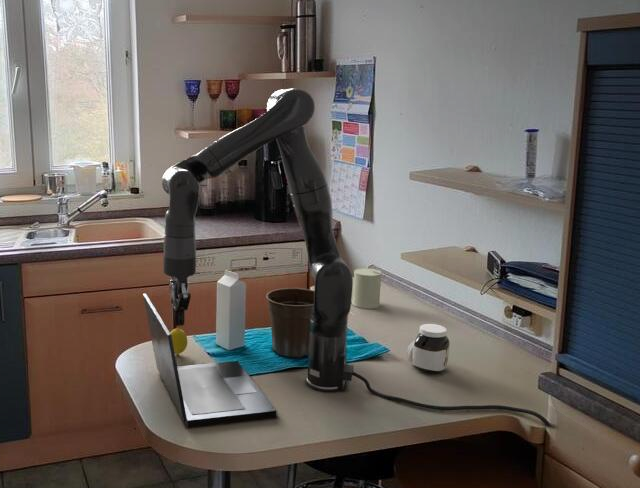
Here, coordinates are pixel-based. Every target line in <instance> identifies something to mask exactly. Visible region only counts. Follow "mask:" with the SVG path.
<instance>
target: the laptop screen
mask: <svg viewBox="0 0 640 488" xmlns="http://www.w3.org/2000/svg"><path fill="white" fill-rule="evenodd" d="M142 297H143V302H144V307H145V313H146V318H147V324H148V329H149V333H150V339H151V343H152V349H153V353H154V354H153V355H154V359H155V364H156V369H157V371H158V374H159V375H160V377H161V379H162V381H163V383H164V385H165V387H166V389H167V391H168V393H169V395H170V397H171V399H172V401H173V403H174V405H175V407H176V409H177V411H178V413H179V415H180V417H181V420H182V421H183V422H184V421H187V417H186V412H185V407H184V401H183V396H182V390H181V385H180V379H179V374H178V369H177V366H178V363H177V359H176V354H175V352H174V347H173V341H172V336H171V333H170V332H171V331H170V330H169V329H168V327H167V325H166V324H165V322H164V320H163V319H162V316H160V314H159V312H158V310H157V309H156V308H155V306H154V304H153V303H152V301H151V300H150V298H149V296H148V294H147V293H146V292H145V293H143V294H142Z"/></svg>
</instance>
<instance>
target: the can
mask: <svg viewBox="0 0 640 488" xmlns="http://www.w3.org/2000/svg"><path fill="white" fill-rule="evenodd" d="M382 274H383V272H382V271H381V270H379V269H375V268H369V267H368V268H366V267H363V268H362V267H361V268H356V269H354V270H353V288H352V300H351V305H353V307H356V308H359V309H365V310H369V309H370V310H371V309H377V308H379V307H380V306H381V304H380V301H381V287H382Z"/></svg>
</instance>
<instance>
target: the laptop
mask: <svg viewBox="0 0 640 488" xmlns="http://www.w3.org/2000/svg"><path fill="white" fill-rule="evenodd" d="M177 369H178V374H179V379H180V385H181V390H182V396H183V401H184V407H185V412H186V417H187V421H183V422H184V424H185V426H186V427H187V429H191V428H200V427H206V426H207V427H208V426H216V425H217V426H218V425H226V424H234V423H243V422H252V421H261V420H268V419H277V412H278V411H277V408H275V407H274V405H273V404H272V403H271V401H269V399H268V398H267V396H266V395H265V394H264V393H263V391H262V390H261V389H260V387H258V385H257V383H256V382H255V381H254V380H253V379H252V378H251V376H250V375H249V373H247V371H246V370H245V369H244V367H243V366H242V365H241V363H240V362H239V361H238V360H232V361H221V362H211V363H209V362H208V363H199V364H190V365H179V366H178V365H177Z"/></svg>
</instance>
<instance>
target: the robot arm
mask: <svg viewBox="0 0 640 488" xmlns="http://www.w3.org/2000/svg"><path fill="white" fill-rule="evenodd" d="M315 109H316V105H315V101H314V98H313V97H312V95H311V94H310V93H309V92H308V91H306V90H304V89H301V88H296V87H295V88H293V87H292V88H283V89H282V88H281V89H278V90H276V91H274V92H273V93H272V94H271V95H270V96H269V98H268V99H267V102H266V112H264V113H263V114H261V115H259V117H257V118H255V119H254V120H252V121H250V122H249V123H246V124H245V125H243V126H241V127H238V128H236V129H234V130H233V131H230V132H228V133H227V134H224V135H223V136H221V137H219V138H218V139H217V140H215V141H213V142H212V143H210V144H209V145H207V146H206V147H205V148H203V149H201V150H200V151H199V152H198V153H195V154H193V155H190V156H189V157H187V158H185V159H183V160H181V161H179V162H177V163H175V164H174V165H172V166H171V167H169V168H168V169H166V171H165V172H164V174H163V176H162V179H161V186H162V188H163V191H164V192H165V193H166V194H167V195H169V203H168V205H169V206H168V210H167V211H166V212H165V215H164V239H163V273H164V275H166V276H168V277H171V279H170V280H168V287H169V295H170V302H171V304H172V309H173V324H174V325H175V326H176V327H181V326H182V327H183V326H185V313H186V312H185V311H188V309H189V306H190V301H191V297H192V294H191V293H190V292H189V291H190V281H188V278H189V277H192V276H194V275H195V274H196V273H197V272H196V271H197V241H196V214H197V211H198V205H199V199H200V193H201V191H200V189H201V187H200V184H201V183H203V182H204V181H206V180H211V179H216V178H218V177H219V176H221V175H222V174H224V173H225V172H227V171H228V170H230V169H232V168H233V167H234V166H236V165H238V163H240V162H241V161H243V160H245V159H246V158H247V157H249V156H250V155H252V154H253V153H255V152H256V151H258V150H259V149H261V148H263V147H264V146H266V145H268V144H269V143H270V142H273V141H276V143H277V146H278V149H279V152H280V157H281V161H282V165H283V170H284V175H285V179H286V181H287V186H288V191H289V195H290V199H291V203H292V206H293V209H294V213H295V216H296V219H297V222H298V226H299V228H300V230H301V231H300V232H301V233H302V236H303V239H304V243H305V247H306V254H307V260H308V261H307V262H308V268H309V276H310V280H311V281H312V283H313V285H314V287H313V288H314V289H313V291H314V304H313V307H312V308H311V313H310V334H309V356H307V357H308V358H307V359H308V360H307V377H306V384H307V385H308V386H309V387H310V388H312V389H314V390H317V391H322V392H335V391H336V392H337V391H343V390H344V387H345V383H346V382H352V379H353V377H355V378H357V379H359V380H361V381H362V382H363V383H364V384H365V387H366V389H367V390H368V391H369V392H370V393H371V394H372V395H375V396H378V397H380V398H383V399H386V400H389V401H394V402H395V401H396V402H400V403H404V404H407V405H411V406H415V407H418V408H422V409H428V410H434V411H435V410H436V411H465V410H472V411H473V410H476V411H477V410H480V411H481V410H504V411H511V412H516V413H522V414H527V415H531V416H534V417H536V418H537V419H539V420H540V421H541V422H542V423H543V424H544V425H545V426H546V427H549V428H550V427H552V424H551V423H550V421H549V420H548V419H547V418H546V417H544V416H543V415H541V414H540V413H538V412H536V411H534V410H531V409H526V408H519V407H513V406H507V405H499V404H497V405H496V404H488V405H487V404H486V405H485V404H483V405H451V406H449V405H448V406H446V405H445V406H443V405H433V404H426V403H422V402H418V401H414V400H410V399H406V398H403V397H399V396H394V395H387V394H383V393H380V392H378V391H376V390H374V389H373V388H372V386H371V384H370V382H369V381H368V379H367V378H366V377H364V376H363V375H361V374H359V373H357V372H355V371H354V367H355V365H354V364H349V363H347V356H348V355H347V354H348V347H347V340H348V339H347V337H348V322H349V321H348V320H349V315H350V312H351V307H352V300H353V288H354V276H353V272H352V270H351V268H350V267H349V266H348V264H346V262H345V261H344V260H343V258H342V255H341V253H340V251H339V248H338V243H337V240H336V237H335V234H334V221H333V219H334V216H333V213H334V212H333V201H332V196H331V191H330V188H329V184H328V180H327V177H326V174H325V172H324V170H323V168H322V166H321V165H320V163H319V161H318V159H317V157H316V156H315V154H314V152H313V151H312V149H311V146H310V145H309V142H308V141H309V140H308V139H307V134H306V130H305V126H306V125H307V124H308V123H310V121H311V120H312V119H313V117H314V114H315Z"/></svg>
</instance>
